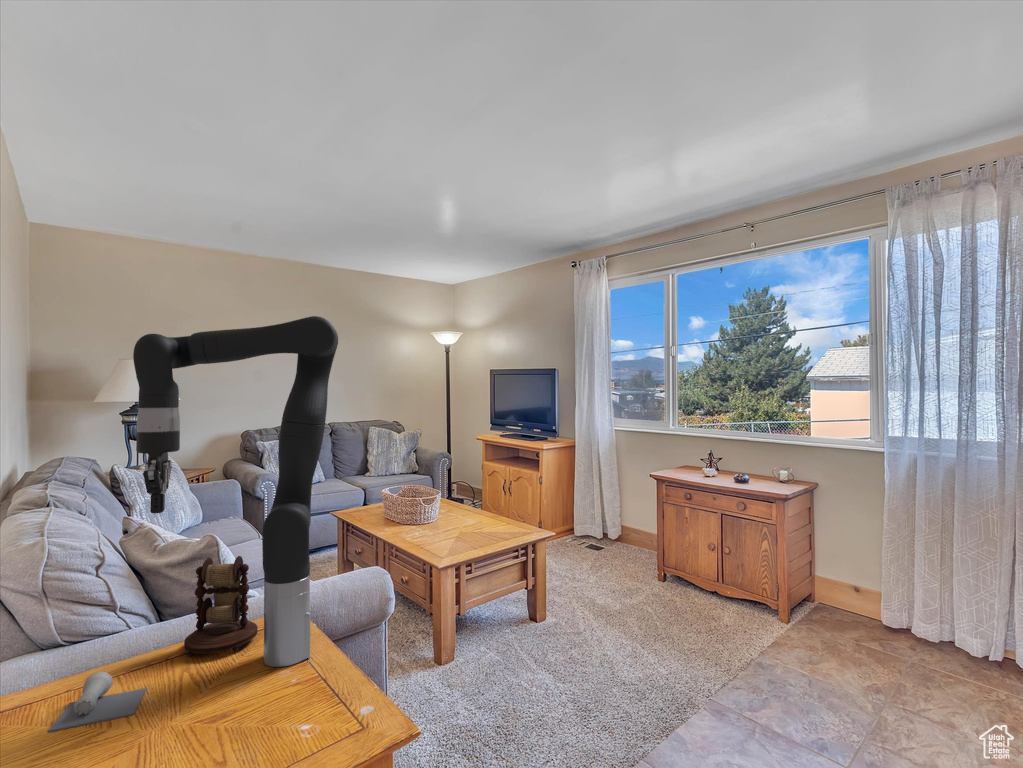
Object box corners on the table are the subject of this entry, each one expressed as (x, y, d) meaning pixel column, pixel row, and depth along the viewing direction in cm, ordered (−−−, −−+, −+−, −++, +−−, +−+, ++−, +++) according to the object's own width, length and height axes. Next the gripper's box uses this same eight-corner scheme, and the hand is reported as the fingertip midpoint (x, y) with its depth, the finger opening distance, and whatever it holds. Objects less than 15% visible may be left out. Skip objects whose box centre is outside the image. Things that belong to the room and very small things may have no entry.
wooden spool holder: (266, 628, 126) (266, 547, 127) (243, 657, 112) (244, 565, 113) (202, 633, 124) (203, 550, 125) (170, 663, 110) (171, 569, 111)
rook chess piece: (102, 697, 98) (86, 724, 91) (79, 688, 97) (60, 715, 89) (119, 676, 99) (104, 701, 91) (96, 666, 97) (79, 691, 90)
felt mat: (147, 689, 100) (147, 687, 100) (133, 714, 91) (133, 712, 91) (69, 704, 95) (69, 702, 95) (48, 732, 87) (48, 730, 87)
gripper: (172, 430, 103) (171, 516, 102) (185, 428, 115) (184, 505, 115) (127, 431, 100) (126, 520, 99) (145, 429, 112) (144, 508, 112)
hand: (157, 512), depth 107 cm, fingers closed
